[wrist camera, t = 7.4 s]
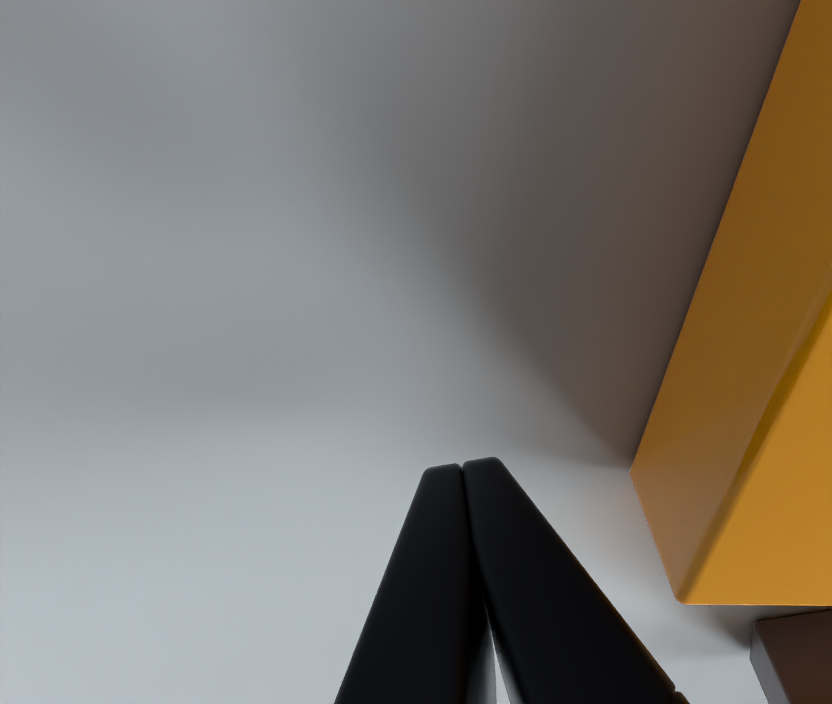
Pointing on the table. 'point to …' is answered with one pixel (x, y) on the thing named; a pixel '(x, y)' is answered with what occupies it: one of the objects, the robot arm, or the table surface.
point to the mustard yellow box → (756, 366)
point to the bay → (794, 658)
